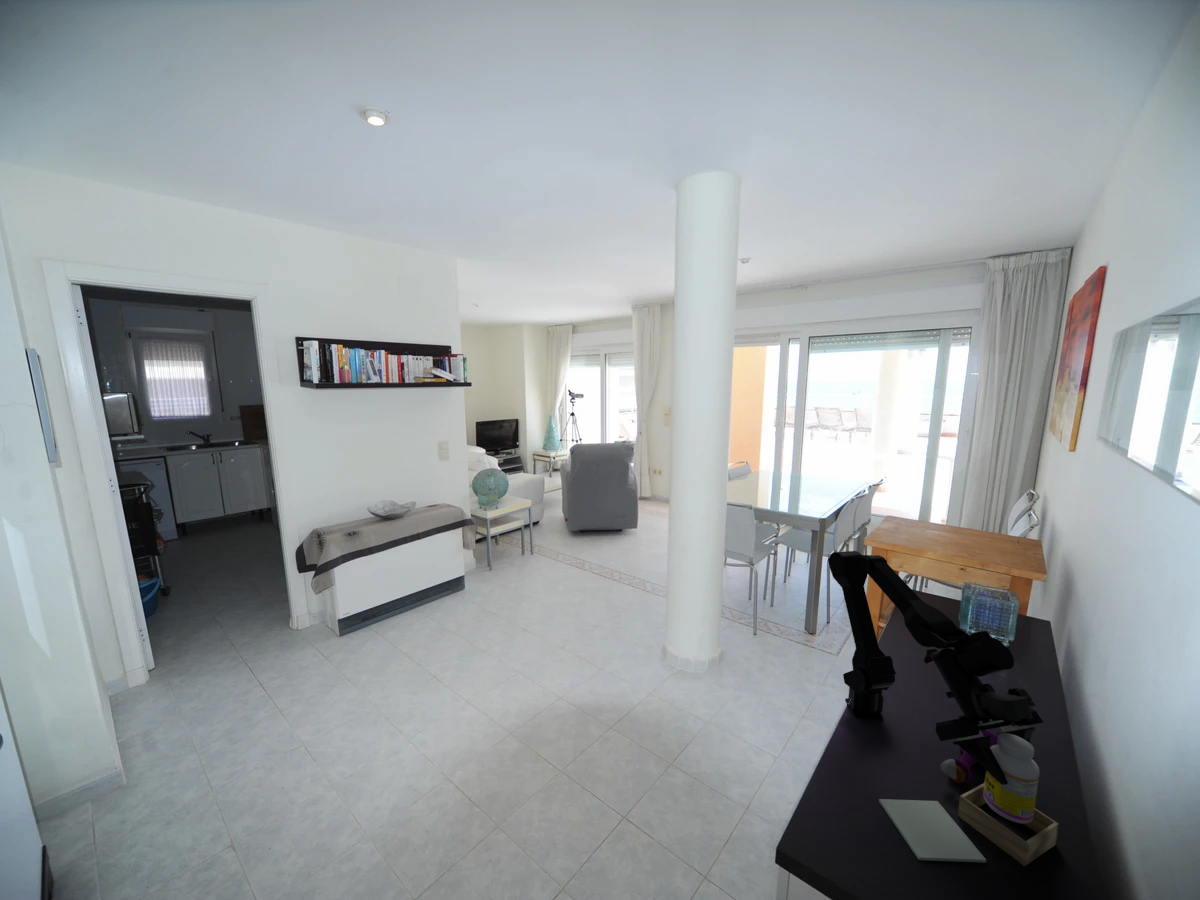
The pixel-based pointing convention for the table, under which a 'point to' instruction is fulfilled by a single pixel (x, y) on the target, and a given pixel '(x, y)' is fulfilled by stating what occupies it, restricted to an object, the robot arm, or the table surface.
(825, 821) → the table surface
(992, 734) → the perfume bottle
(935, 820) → the sage mat
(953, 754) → the table surface
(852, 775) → the table surface
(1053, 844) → the wooden box
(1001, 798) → the supplement bottle
